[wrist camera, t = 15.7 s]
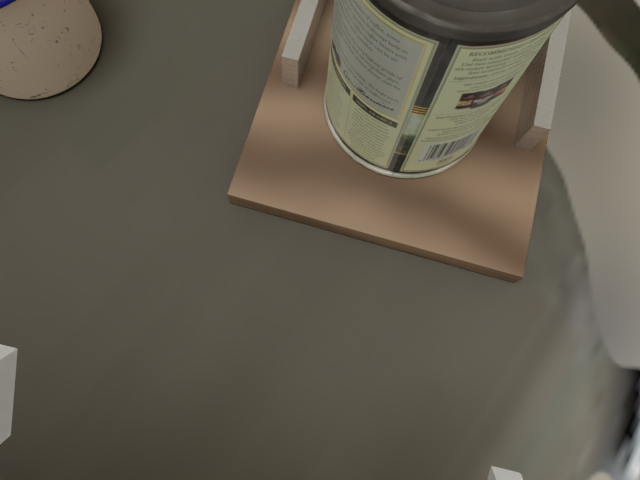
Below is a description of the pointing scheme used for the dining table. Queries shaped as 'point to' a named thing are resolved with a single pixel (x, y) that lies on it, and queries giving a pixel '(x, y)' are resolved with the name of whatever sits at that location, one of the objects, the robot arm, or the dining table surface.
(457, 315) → the dining table surface
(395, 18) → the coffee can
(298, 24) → the keeper cradle
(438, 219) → the board
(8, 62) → the teacup with lid
